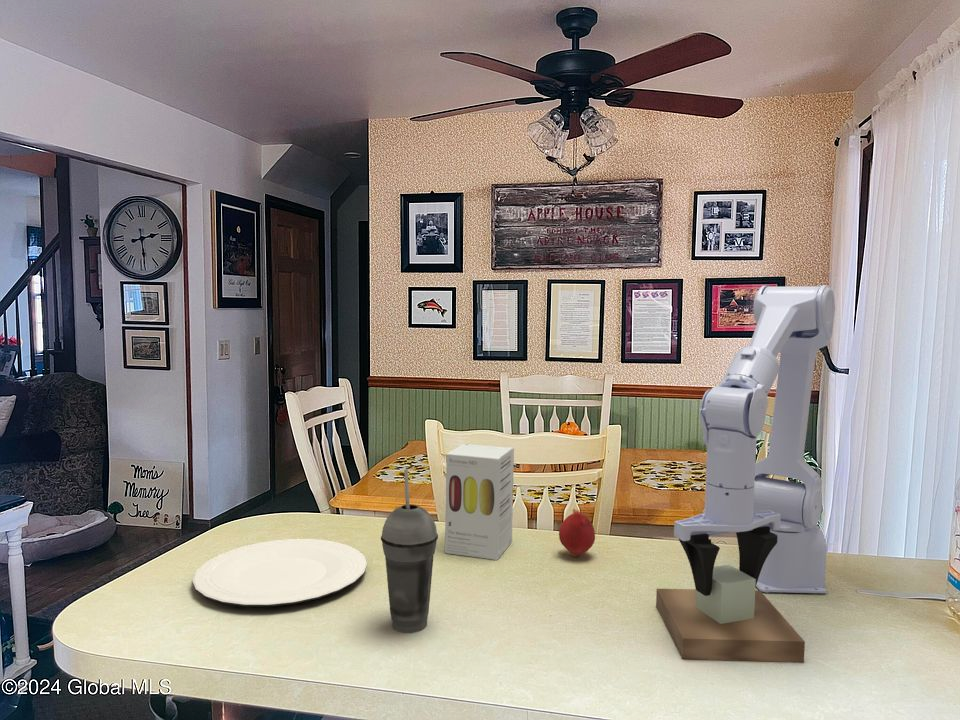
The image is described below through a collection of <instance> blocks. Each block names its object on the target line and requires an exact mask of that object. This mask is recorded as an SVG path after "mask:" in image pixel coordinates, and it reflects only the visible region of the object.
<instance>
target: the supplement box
mask: <svg viewBox="0 0 960 720" xmlns="http://www.w3.org/2000/svg"><path fill="white" fill-rule="evenodd" d="M514 458H515V448H514V447H512V446H508V447H507V446H496V445H487V444H486V445H485V444H473V443H466V442H465V443H463V444H461V445H459V446H457V447H456V448H454V449H452V450H451V451H449V452H447V453H446V463H445V464H446V465H445V470H446V471H445V473H446V474H445V517H444V518H445V519H444V520H445V524H444V525H445V529H444V530H445V531H444V533H445V535H444V554H449V555H458V556H466V557H472V558H478V559H479V558H480V559H487V560H493V561H498V560H499V559H500V558H501V557H502V555H503V554H504V553H505V552H506V550H507V549H508V547H510V545H511V544H512V542H513V518H514V517H513V516H514V515H513V514H514V513H513V510H514V507H513V505H514V500H513V499H514V469H515V467H514V462H515V461H514V460H515V459H514Z"/></svg>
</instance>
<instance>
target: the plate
mask: <svg viewBox="0 0 960 720" xmlns="http://www.w3.org/2000/svg"><path fill="white" fill-rule="evenodd" d="M367 567H368V562H367V559H366V556H365V555H364V554H363V553H361V552H360V551H359V550H358V549H357V548H354V547H351V546H350V545H348V544H345V543H341V542H336V541H332V540H325V539H315V538H288V539H277V540H276V539H275V540H269V541H262V542H256V543H252V544H249V545H248V544H247V545H244V546H241V547H240V546H239V547H237V548H234V549H230V550H228V551H226V552H222V553H221V554H218V555H216V556H215V557H212V558H211V559H209V560H207V561H206V562H204V563H203V564H202V565H200V567H198V569H197V570H196V571H194V575H193V577H192V581H191V582H192V585H193V586H194V589H195V591H196V592H197V593H199V594H201V595H202V596H203V597H204V598H206V599H209V600H212V601H215V602H218V603H220V604H225V605H233V606H239V607H240V606H241V607H276V606H277V607H278V606H284V605H295V604H299V603H304V602H308V601H313V600H318V599H321V598H324V597H327V596H330V595H333V594H336V593H339V592H341V591H342V590H344V589H346V588H347V587H349V586H352V585H353V584H355V583H356V582H357V581H358V580H359V579H360V578H362V576H363V575H364V574H365V571H366V569H367Z"/></svg>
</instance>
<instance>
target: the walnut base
mask: <svg viewBox="0 0 960 720" xmlns="http://www.w3.org/2000/svg"><path fill="white" fill-rule="evenodd" d="M655 596H656V598H655V607H656V609H657V611H658V613H659V615H660V617H661V618H662V621H663V623H664V624H665V625H664V626H666V630H667V631H668V633H669V635H670V637H671V639H672V641H673V643H674V646H675V647H676V649H677V652H678V653H679V655H680V657H681V659H682V660H701V661H702V660H703V661H705V660H706V661H709V660H710V661H747V662H778V663H779V662H781V663H782V662H783V663H784V662H786V663H787V662H788V663H804V662H805V648H806V647H805V645H806V643H805V640H804V638H803V637H802V636H801V635H800V634H799V633H798V632H797V630H796V629H794V628H793V626H792V625H791V624H790V623H789V621H788V620H786V618H785V617H784V616H783V615H782V614H781V613H780V612H779V610H778V609H777V608H776V607H775V606H774V604H772V603H771V601H770V600H769V599H768V598H767V597H766V596H765V595H764V592H762V591H760V590H755V608H754V618H753V619H747V620H741V621H735V622H730V623H724V624H720V623H718V622H717V621H715V620H714V619H712V618H711V617H709V616H708V615H707V614H705V613H704V612H702V611H701V610H699V609H698V608H696V607H695V599H696V588H695V589H693V588H692V589H691V588H687V589H686V588H656V595H655Z"/></svg>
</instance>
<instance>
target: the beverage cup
mask: <svg viewBox="0 0 960 720" xmlns="http://www.w3.org/2000/svg"><path fill="white" fill-rule="evenodd" d="M403 472H404V473H403V474H404V478H403V479H404V492H405V493H404V498H405V499H404V500H405V504H403V505H401V506H398V507H397V508H395V509H393V510H392V511H391V512H390V513H389V514H388V516H387V517H386V519H385V521H384V524H383V527H382V531H381V536H380V540H381V543H382V544H381V545H382V551H383V554H384V557H385V558H384V559H385V569H386V571H385V572H386V580H387V581H386V583H387V591H388V601H389V602H388V603H389V614H390V618H391V626H392V629H394V630H395V631H398V632H401V633H409V634H411V633H416V632H417V633H418V632H419V631H422V630H424V629H425V628H426V627H428V618H429V617H428V615H429V611H430V599H431V589H432V578H433V567H434V565H433V564H434V555H435V553H436V548H437V542H438V541H437V540H438V538H439V534H438V532H437V531H438V530H437V525H436V522H435V520H434V518H433V516H432V515H431V514H430V513H429V512H428V511H427V510H426V508H424V507H421V506H420V505H417V504H411V503H410V487H409V469H403Z"/></svg>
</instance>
